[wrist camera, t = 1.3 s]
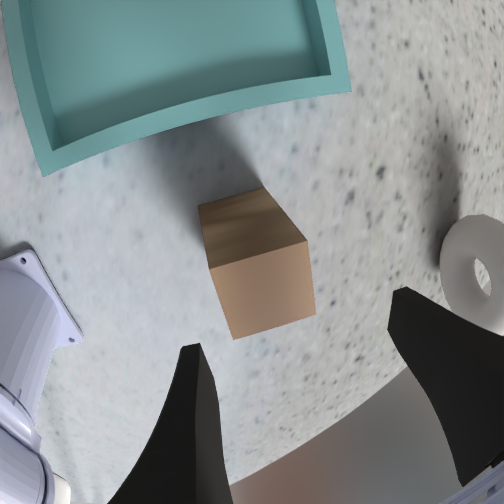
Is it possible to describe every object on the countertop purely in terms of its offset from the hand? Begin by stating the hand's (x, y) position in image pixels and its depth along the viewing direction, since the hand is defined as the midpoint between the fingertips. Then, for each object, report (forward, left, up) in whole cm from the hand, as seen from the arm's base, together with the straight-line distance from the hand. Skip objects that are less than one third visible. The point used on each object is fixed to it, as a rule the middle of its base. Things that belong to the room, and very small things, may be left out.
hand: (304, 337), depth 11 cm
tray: (-2, +15, -10) cm, 18 cm away
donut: (+16, -7, -10) cm, 21 cm away
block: (-1, 0, -10) cm, 10 cm away
